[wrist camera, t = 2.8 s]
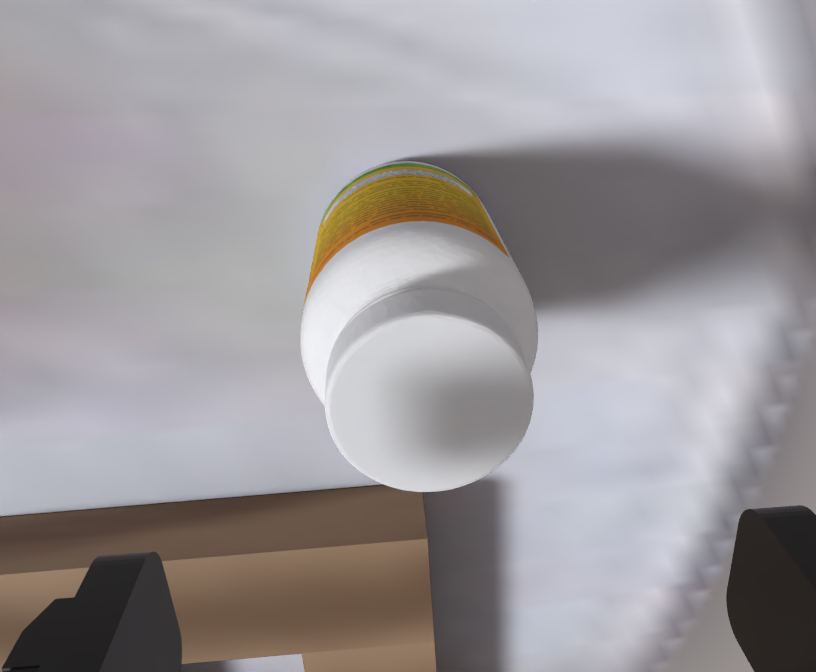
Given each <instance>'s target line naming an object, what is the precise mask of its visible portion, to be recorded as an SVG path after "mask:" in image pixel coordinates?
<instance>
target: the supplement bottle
mask: <svg viewBox="0 0 816 672" xmlns="http://www.w3.org/2000/svg"><path fill="white" fill-rule="evenodd" d="M300 342H301V355H302V360H303V364H304V368H305V371H306V374H307V376H308V379H309V381H310V383H311V386H312V387H313V389H314V391H315V393H316V394H317V396H318V397H319V399H320V400H321V402H322V403H323V405H324V406H325V414H326V420H327V424H328V428H329V431H330V433H331V436H332V438H333V440H334V442H335V444H336V445H337V447H338V449H339V451H340V452H341V453H342V455H343V456H344V457H345V458H346V459H347V460H348V461H349V462H350V463H351V464H352V465H353V466H354V467H355V468H356V469H358V470H359V471H360V472H361V473H363V474H365V475H366V476H368V477H369V478H371V479H373V480H375V481H377V482H379V483H381V484H384V485H387V486H390V487H393V488H397V489H401V490H406V491H414V492H436V491H445V490H451V489H455V488H458V487H462V486H465V485H467V484H470V483H472V482H475V481H477V480H479V479H481V478H483V477H484V476H486V475H488V474H489V473H491V472H492V471H494V470H495V469H496V468H498V467H499V466H500V465H501V464H502V463H503V462H505V461H506V460H507V459H508V458H509V456H510V455H511V454H512V453H513V452H514V451H515V449H516V448H517V446H518V445H519V443H520V442H521V440H522V439H523V437H524V435H525V433H526V431H527V428H528V426H529V423H530V419H531V415H532V410H533V399H534V394H533V385H532V379H531V376H530V373H531V370H532V367H533V364H534V361H535V357H536V352H537V344H538V324H537V318H536V312H535V308H534V304H533V301H532V298H531V295H530V293H529V290H528V288H527V286H526V284H525V281H524V279H523V277H522V275H521V274H520V272H519V270H518V268H517V266H516V265H515V263H514V261H513V259H512V257H511V255H510V253H509V252H508V250H507V248H506V246H505V244H504V242H503V240H502V238H501V236H500V234H499V233H498V231H497V229H496V227H495V225H494V223H493V221H492V219H491V217H490V215H489V214H488V212H487V210H486V208H485V207H484V205H483V204H482V202H481V201H480V199H479V198H478V196H477V195H476V194H475V192H474V191H473V190H472V189H471V188H470V187H469V186H468V185H467V184H466V183H465V182H463V181H462V180H461V179H459V178H458V177H457V176H455V175H453V174H452V173H450V172H448V171H446V170H444V169H442V168H439V167H437V166H434V165H431V164H427V163H422V162H414V161H398V162H391V163H386V164H382V165H379V166H376V167H373V168H371V169H369V170H367V171H365V172H363V173H361V174H359V175H357V176H356V177H354V178H353V179H352V180H350V181H349V182H348V183H347V184H346V185H345V186H344V187H342V188H341V190H340V191H339V192H338V193H337V194H336V195H335V197H334V198H333V200H332V201H331V203H330V204H329V206H328V208H327V209H326V211H325V214H324V216H323V219H322V221H321V224H320V228H319V231H318V236H317V241H316V247H315V252H314V258H313V263H312V267H311V272H310V279H309V284H308V288H307V293H306V298H305V303H304V308H303V313H302V323H301V336H300Z"/></svg>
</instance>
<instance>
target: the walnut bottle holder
mask: <svg viewBox="0 0 816 672" xmlns="http://www.w3.org/2000/svg"><path fill="white" fill-rule="evenodd" d="M141 552H156V553H158V555H159V556H160V558H161V561H162V564H163V567H164V571H165V575H166V579H167V582H168V586H169V590H170V594H171V598H172V601H173V605H174V609H175V613H176V617H177V620H178V624H179V628H180V632H181V639H182V664H188V663H199V662H210V661H222V660H233V659H245V658H256V657H268V656H279V655H290V654H302V658H303V664H304V669H305V672H436V657H435V643H434V628H433V613H432V598H431V583H430V568H429V553H428V538H427V529H426V520H425V511H424V502H423V493H422V492H414V491H406V490H401V489H397V488H393V487H390V486H387V485H381V486H369V487H357V488H345V489H333V490H321V491H309V492H297V493H285V494H273V495H261V496H249V497H237V498H225V499H213V500H201V501H189V502H177V503H165V504H153V505H141V506H129V507H117V508H105V509H93V510H81V511H69V512H57V513H45V514H33V515H21V516H9V517H0V672H2V667H3V665H4V663H5V661H6V660H7V658H8V656H9V654H10V652H11V651H12V649H13V647H14V645H15V643H16V642H17V640H18V638H19V636H20V634H21V633H22V631H23V630H24V629H25V628H26V627H27V626H28V625H29V624H30V623H31V622H32V621H33V620H34V619H35V618H36V617H37V616H38V615H39V614H40V613H41V612H42V611H44V610H45V609H46V608H47V607H48V606H49V605H50V604H51V603H52V602H53V601H54V600H55V599H59V598H72V597H75V595H76V593H77V591H78V589H79V587H80V585H81V583H82V581H83V579H84V577H85V575H86V573H87V571H88V569H89V567H90V565H91V564H92V562H93V561H94V559H95V558H97V557H98V556H101V555H114V554H127V553H141Z"/></svg>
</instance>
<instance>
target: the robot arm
mask: <svg viewBox="0 0 816 672" xmlns="http://www.w3.org/2000/svg"><path fill="white" fill-rule="evenodd" d="M727 610H728V616H729V620H730V624H731V627H732V630H733V633H734V635H735V637H736V639H737V641H738V643H739V645H740V647H741V649H742V650H743V652H744V654H745V656H746V658H747V659H748V661H749V663H750V664H751V666H752V668H753V670H754V672H816V515H815V514H814V513H813V512H812V511H811V510H810V509H809V508H807V507H805V506H800V505H798V506H785V507H773V508H758V509H748V510H745V511H744V512H743V513H742V514H741V517H740V519H739V524H738V530H737V535H736V541H735V547H734V553H733V558H732V564H731V571H730V576H729V582H728V587H727ZM181 664H182V639H181V632H180V628H179V624H178V620H177V617H176V613H175V609H174V605H173V601H172V598H171V594H170V590H169V586H168V582H167V579H166V575H165V571H164V567H163V564H162V561H161V558H160V556H159V555H158V553H156V552H141V553H127V554H114V555H101V556H98V557H97V558H95V559H94V561H93V562H92V564H91V565H90V567H89V569H88V571H87V573H86V575H85V577H84V579H83V581H82V583H81V585H80V587H79V589H78V591H77V593H76V595H75V597H72V598H59V599H55V600H54V601H53V602H52V603H51V604H50V605H49V606H48V607H47V608H46V609H45V610H44V611H42V612H41V613H40V614H39V615H38V616H37V617H36V618H35V619H34V620H33V621H32V622H31V623H30V624H29V625H28V626H27V627H26V628H25V629H24V630H23V631H22V633H21V634H20V636H19V638H18V640H17V642H16V643H15V645H14V647H13V649H12V651H11V652H10V654H9V656H8V658H7V660H6V661H5V663H4V665H3V667H2V672H181Z"/></svg>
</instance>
